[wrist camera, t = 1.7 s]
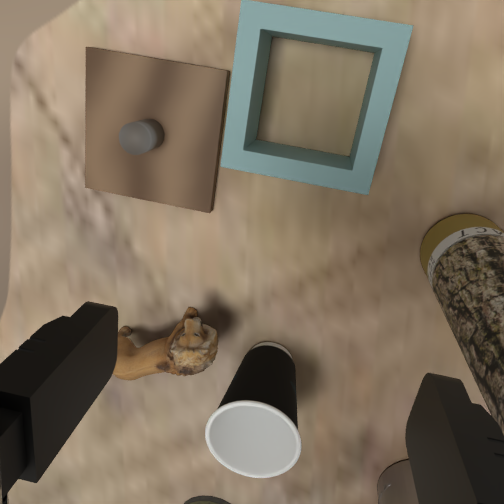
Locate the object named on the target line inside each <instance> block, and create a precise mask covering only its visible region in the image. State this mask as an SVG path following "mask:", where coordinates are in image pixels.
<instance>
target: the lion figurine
mask: <svg viewBox="0 0 504 504" xmlns="http://www.w3.org/2000/svg"><path fill="white" fill-rule="evenodd" d="M197 315H198V313H197V310H196V309H194V308H191V307H189V308H188V309H187V311H186V312H185V314H184V316H183V319H182V320H181V322H179V323H178V324H177V326H176V327H175V329H174V330H173V332H172V334H171V335H170V336H169V337H165V338H161V339H158V340H154V341H152V342H149V343H147V344H145V345H144V346H142V347H140V348H136V347H135V346H134V344H133V343H132V341H131V340H130V339H129V338H127V337H128V336H129V335H130V334H131V329H130V328H129V327H127V326H124V327H122V328H121V329H120V330H119V332H118V348H117V361H116V365H115V368H114V371H113V374H114V375H115V376H116V377H117V378H120V379H123V380H135V379H138V378H140V377H142V376H146V375H150V374H155V373H162V372H167V373H172V374H177V375H179V376H180V375H183V376H187V375H194V374H197V373H199V372H202V371H204V370H205V369H206V368H207V367H209V366H210V365H212V363H213V361H214V360H215V356H216V354H217V349H218V347H217V346H218V336H217V332H216V330H214V329H213V328H211V327H210V326H208V325H205V324H202V322H201V319H200V318H198V317H197Z"/></svg>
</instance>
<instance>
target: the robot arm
mask: <svg viewBox="0 0 504 504" xmlns="http://www.w3.org/2000/svg"><path fill="white" fill-rule="evenodd" d="M117 348H118V310H117V308H116V307H113V306H108V305H103V304H99V303H94V302H89V301H88V302H86V303H84V304H83V305H82V306H81V307H80V308H79V309H78V310H77V311H76V312H75V313H74V314H73V315H72V316H71V317H67V316H61V317H59V318H57V319H55V320H53V321H51V322H48V323H46V324H44V325H43V326H42V327H41V328H40V329H38V330H37V331H36V332H35V333H34V334H33V335H32V336H31V337H30V339H29V340H28V339H27V340H26V341H25V342H24V343H23V344H22V345H21V346H20V347H19V349H18V350H15V351H14V352H13V353H12V354H11V355H10V356H8V357H7V358H6V359H5V360H4V361H3V362H2V363H1V364H0V504H9V499H8V492H9V490H10V489H11V488H12V486H13V485H14V484H15V482H16V481H17V480H18V479H22V480H26V481H30V482H34V483H37V482H38V481H39V479H40V478H41V477H42V475H43V474H44V472H45V471H46V469H47V468H48V467H49V465H50V464H51V462H52V461H53V459H54V458H55V457H56V455H57V454H58V452H59V451H60V449H61V448H62V447H63V445H64V444H65V442H66V441H67V439H68V438H69V437H70V435H71V434H72V432H73V431H74V429H75V428H76V426H77V425H78V424H79V422H80V421H81V419H82V418H83V416H84V415H85V414H86V412H87V411H88V409H89V408H90V406H91V405H92V404H93V402H94V401H95V399H96V398H97V396H98V395H99V394H100V392H101V391H102V389H103V388H104V386H105V385H106V384H107V382H108V381H109V379H110V378H111V376H112V374H113V371H114V368H115V365H116V361H117ZM405 438H406V448H407V452H408V457H409V460H406V461H401V462H399V463H396V464H394V465H392V466H391V467H389V468H388V469H386V470H385V471H384V473H383V474H382V475H381V477H380V478H379V480H378V485H377V491H378V504H504V435H503V433H502V431H501V429H500V427H499V425H498V423H497V422H496V421H495V420H494V418H493V417H492V416H491V415H490V414H489V413H488V412H487V411H486V410H485V409H484V408H483V407H482V406H481V405H479V404H474V403H471V400H470V398H469V396H468V394H467V391H466V389H465V387H464V385H463V383H462V381H461V380H460V379H456V378H451V377H446V376H442V375H437V374H432V373H427V374H426V375H425V376H424V378H423V380H422V383H421V385H420V388H419V391H418V394H417V396H416V399H415V402H414V404H413V407H412V410H411V412H410V415H409V418H408V421H407V426H406V437H405Z"/></svg>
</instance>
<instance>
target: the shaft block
mask: <svg viewBox="0 0 504 504" xmlns="http://www.w3.org/2000/svg"><path fill="white" fill-rule="evenodd" d="M229 74H230V71H227V70H221V69H215V68H209V67H203V66H198V65H192V64H186V63H180V62H174V61H168V60H162V59H156V58H151V57H145V56H139V55H133V54H127V53H121V52H115V51H110V50H104V49H98V48H92V47H86V139H85V188H89V189H94V190H99V191H104V192H109V193H114V194H119V195H123V196H128V197H133V198H138V199H143V200H148V201H153V202H158V203H163V204H168V205H172V206H177V207H182V208H187V209H192V210H197V211H202V212H207V213H210V212H211V211H212V210H213V203H214V195H215V187H216V179H217V171H218V163H219V155H220V147H221V139H222V131H223V123H224V115H225V107H226V99H227V90H228V82H229Z"/></svg>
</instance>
